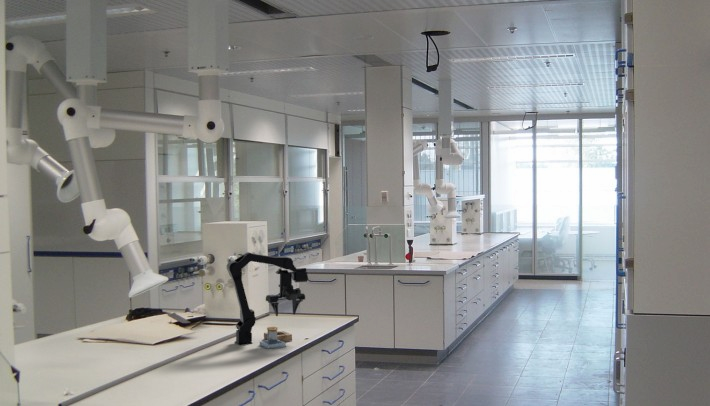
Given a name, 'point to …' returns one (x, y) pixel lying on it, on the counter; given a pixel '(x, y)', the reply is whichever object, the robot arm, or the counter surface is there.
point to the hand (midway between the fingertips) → (285, 315)
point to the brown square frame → (281, 336)
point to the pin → (272, 335)
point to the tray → (271, 346)
